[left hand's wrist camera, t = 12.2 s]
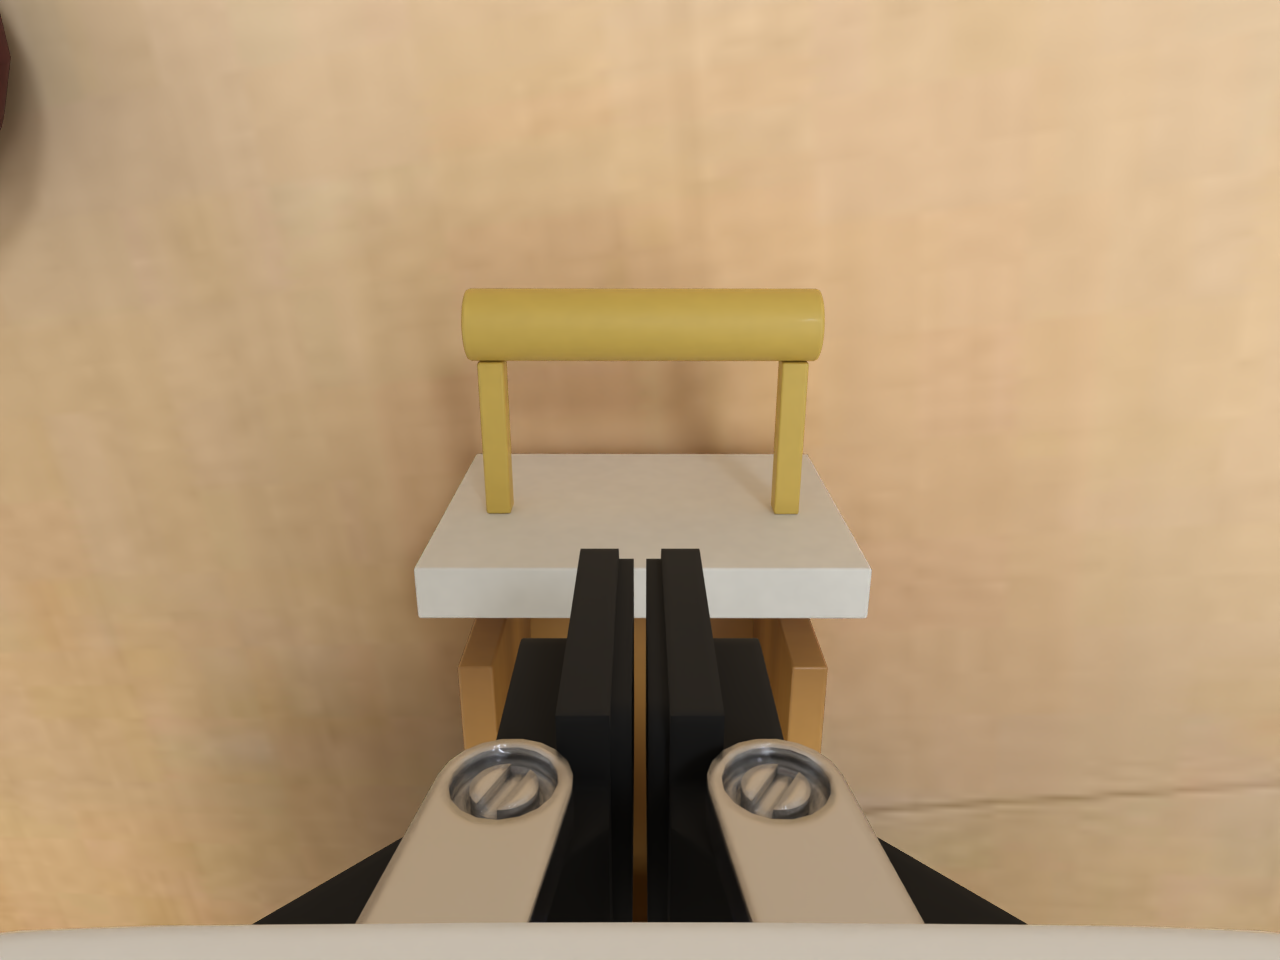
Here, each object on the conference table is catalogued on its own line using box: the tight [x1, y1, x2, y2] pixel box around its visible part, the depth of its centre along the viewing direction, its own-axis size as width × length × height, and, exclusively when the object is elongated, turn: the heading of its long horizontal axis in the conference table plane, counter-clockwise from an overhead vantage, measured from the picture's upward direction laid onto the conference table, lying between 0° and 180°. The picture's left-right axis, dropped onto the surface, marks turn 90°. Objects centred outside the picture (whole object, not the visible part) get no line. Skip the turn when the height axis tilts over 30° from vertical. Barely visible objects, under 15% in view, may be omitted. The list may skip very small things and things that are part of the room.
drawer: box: [414, 289, 872, 922], centre depth 24 cm, size 24×10×8 cm, turn 0°
